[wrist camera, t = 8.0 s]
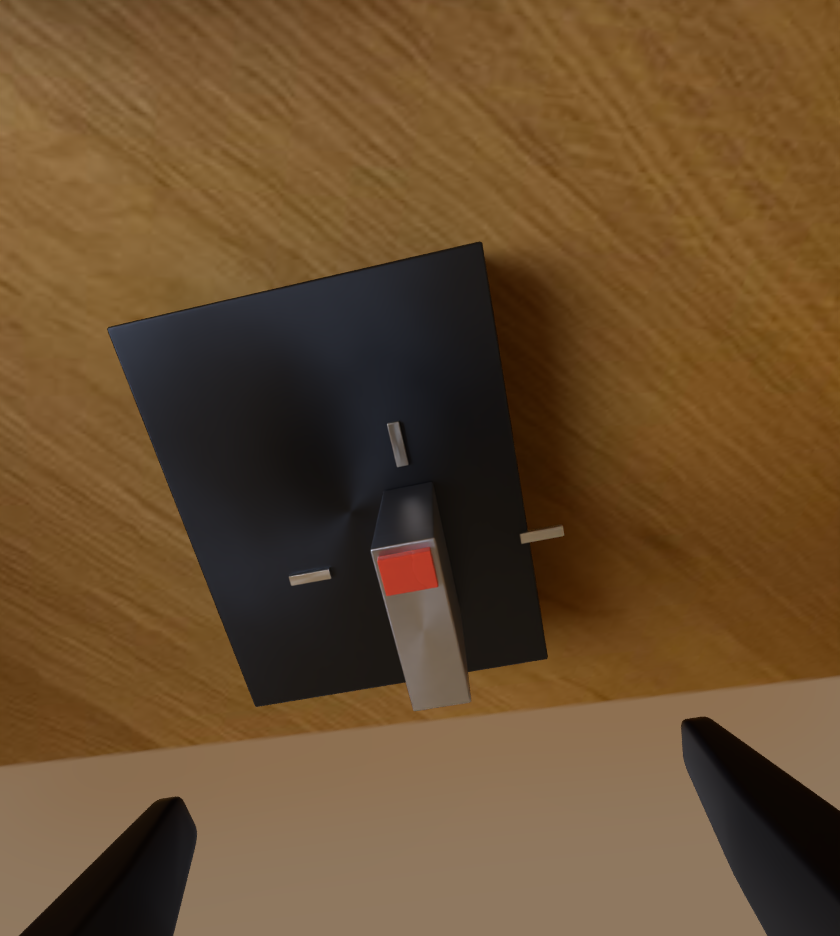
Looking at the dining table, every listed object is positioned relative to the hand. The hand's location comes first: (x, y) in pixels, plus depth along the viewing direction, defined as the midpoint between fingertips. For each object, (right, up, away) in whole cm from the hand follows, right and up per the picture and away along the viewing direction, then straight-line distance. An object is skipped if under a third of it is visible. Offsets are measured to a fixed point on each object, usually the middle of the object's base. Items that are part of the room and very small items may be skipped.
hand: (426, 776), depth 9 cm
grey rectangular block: (0, +3, +8) cm, 8 cm away
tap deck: (-2, +5, +10) cm, 11 cm away
